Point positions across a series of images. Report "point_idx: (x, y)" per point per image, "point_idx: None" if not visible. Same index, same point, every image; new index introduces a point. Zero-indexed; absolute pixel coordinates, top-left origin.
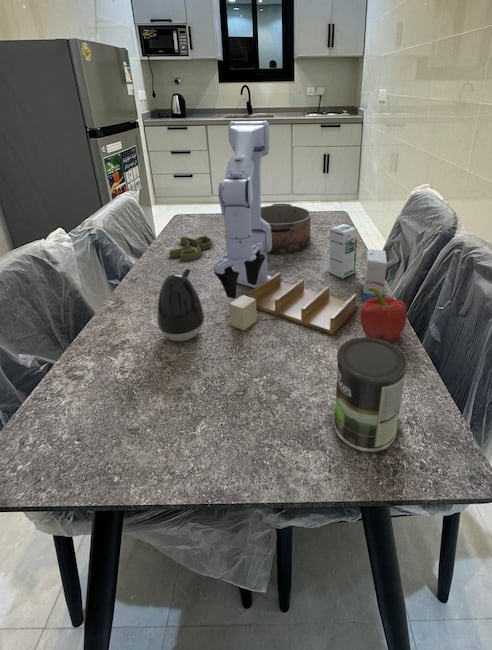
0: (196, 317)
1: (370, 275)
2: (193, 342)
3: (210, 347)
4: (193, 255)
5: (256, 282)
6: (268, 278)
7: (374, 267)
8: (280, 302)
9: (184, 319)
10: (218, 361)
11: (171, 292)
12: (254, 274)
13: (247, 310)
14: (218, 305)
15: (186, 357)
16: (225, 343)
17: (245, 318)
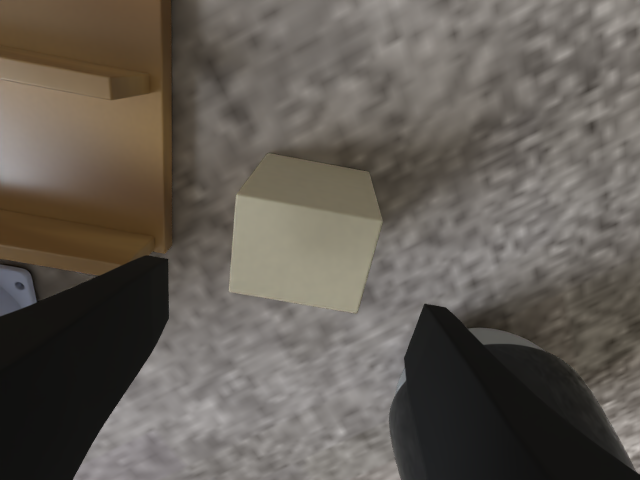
0: (544, 390)
1: None
2: (504, 314)
3: (524, 245)
4: None
5: (138, 259)
6: None
7: None
8: (91, 68)
9: (607, 427)
10: (619, 167)
11: None
12: (104, 325)
13: (336, 197)
14: (239, 351)
15: (601, 292)
16: (485, 203)
17: (358, 187)
